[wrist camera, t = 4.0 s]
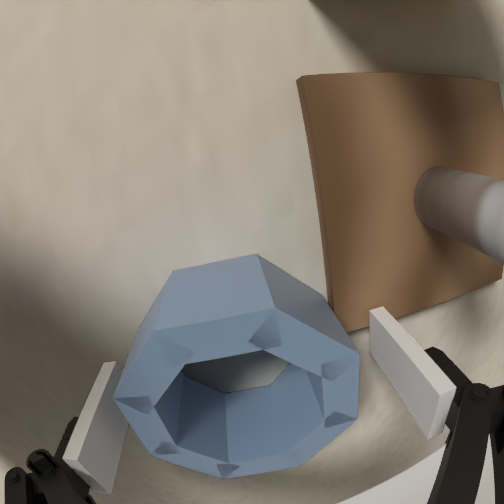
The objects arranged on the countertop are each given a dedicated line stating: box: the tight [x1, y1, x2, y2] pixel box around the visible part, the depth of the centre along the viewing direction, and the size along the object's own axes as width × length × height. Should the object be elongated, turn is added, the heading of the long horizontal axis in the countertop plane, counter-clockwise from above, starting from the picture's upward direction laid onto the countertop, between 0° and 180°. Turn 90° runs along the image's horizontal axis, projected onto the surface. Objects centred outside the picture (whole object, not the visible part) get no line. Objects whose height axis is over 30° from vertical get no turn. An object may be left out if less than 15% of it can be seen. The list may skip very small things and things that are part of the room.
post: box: [296, 72, 504, 333], centre depth 10 cm, size 12×12×10 cm
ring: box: [113, 254, 360, 479], centre depth 14 cm, size 9×9×5 cm
